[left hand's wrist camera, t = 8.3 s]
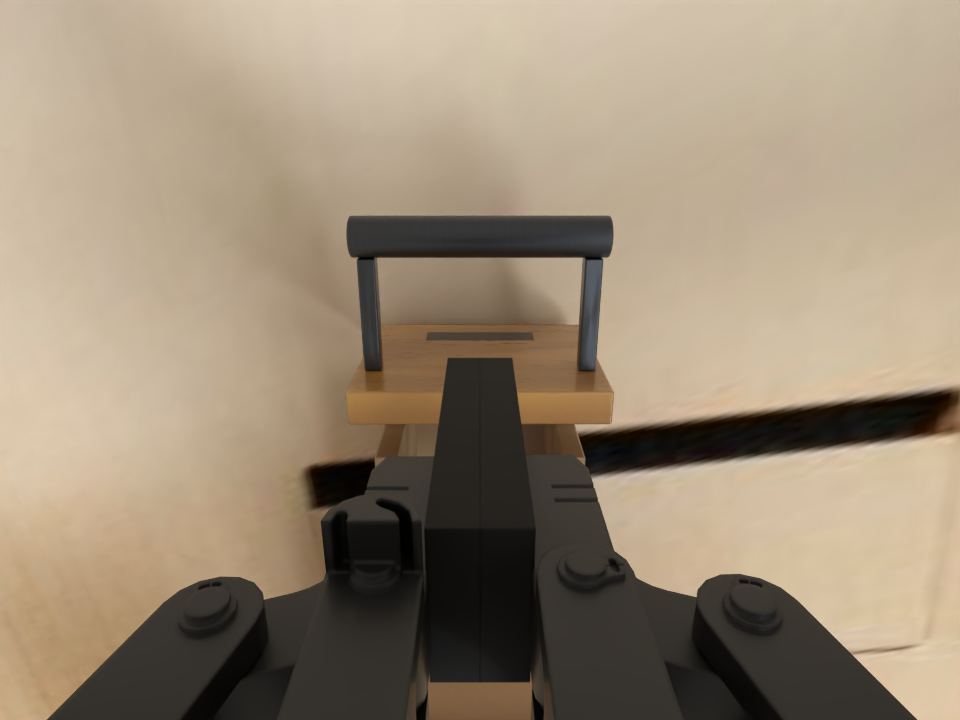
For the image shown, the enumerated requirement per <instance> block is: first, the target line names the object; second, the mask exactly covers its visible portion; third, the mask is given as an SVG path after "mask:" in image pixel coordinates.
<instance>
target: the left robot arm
mask: <svg viewBox="0 0 960 720" xmlns="http://www.w3.org/2000/svg"><path fill="white" fill-rule="evenodd" d="M321 528H322V537H323V547H324V556H325V565H326V575H325V578H324V581H322V582H320V583H318V584H316V585H314V586H312V587H310V588H308V589H305V590H302V591H298V592H295V593H292V594H287V595H283V596H279V597H274V598H270V599H266V600H264V598H263V593H262V591H261V590H260V589H259V588H258V587H257V585H256V584H255V583H254V582H251V581H248V580H246V579H243V578H240V577H217V578H213V579H208V580H203V581H199V582H197V583H195V584H193V585H191V586H188V587H186V588H184V589H182V590H180V591H179V592H177V593H176V594H175V595H173V596H172V597H171V598H169V599H168V600H167V601H165V602H164V603H163V604H162V605H161V606H160V607H159V608H158V609H157V610H156V611H155V612H154V613H153V614H152V615H151V616H150V617H149V618H148V619H147V620H146V621H145V622H144V623H143V624H142V625H141V626H140V627H139V628H138V629H137V630H136V631H135V632H134V633H133V634H132V635H131V636H130V637H129V638H128V639H127V640H126V641H125V642H124V643H123V644H122V645H121V646H120V647H119V648H118V649H117V650H116V651H115V652H114V653H113V654H112V655H111V656H110V657H109V658H108V659H107V660H106V661H105V662H104V663H103V664H102V665H101V666H100V667H99V668H98V669H97V670H96V671H95V672H94V673H93V674H92V675H91V676H90V677H89V678H88V679H87V680H86V681H85V682H84V683H83V684H82V685H81V686H80V687H79V688H78V689H77V690H76V691H75V692H74V693H73V694H72V695H71V696H70V697H69V698H68V699H67V700H66V701H65V702H64V703H63V704H62V705H61V706H60V707H59V708H58V709H57V710H56V711H55V712H54V713H53V714H52V715H51V716H50V717H49V718H48V719H47V720H429V701H428V683H429V673H430V682H530V673H531V680H532V701H531V720H917V719H916V718H915V717H914V716H913V715H912V714H911V713H910V712H909V711H908V710H907V709H906V708H905V707H904V706H903V705H902V704H901V703H900V702H899V701H898V700H897V699H896V698H895V697H894V696H893V695H892V694H891V693H890V692H889V691H888V690H887V689H886V688H885V687H884V686H883V685H882V684H881V683H880V682H879V681H878V680H877V679H876V678H875V677H874V676H873V675H872V674H871V673H870V672H869V671H868V670H867V669H866V668H865V667H864V666H863V665H862V664H861V663H860V662H859V661H858V660H857V659H856V658H855V657H854V656H853V655H852V654H851V653H850V652H849V651H848V650H847V649H846V648H845V647H844V646H843V645H842V644H841V643H840V642H839V641H838V640H837V639H836V638H835V637H834V636H833V635H832V634H831V633H830V632H829V631H828V630H827V629H826V628H825V627H824V626H823V625H822V624H821V623H820V622H818V621H817V620H816V619H815V618H814V617H813V616H812V615H811V614H810V613H809V612H808V611H807V610H806V609H805V608H804V607H803V606H802V605H801V604H800V603H799V602H798V601H797V600H796V599H795V598H794V597H792V596H791V595H790V594H788V593H787V592H786V591H784V590H783V589H782V588H780V587H778V586H776V585H774V584H771V583H769V582H767V581H765V580H763V579H760V578H756V577H751V576H746V575H742V574H724V575H718V576H716V577H713V578H710V579H708V580H706V581H705V582H704V583H703V584H702V586H701V587H700V588H699V589H698V592H697V597H693V596H688V595H684V594H680V593H675V592H671V591H667V590H664V589H660V588H657V587H654V586H651V585H649V584H647V583H645V582H643V581H641V580H639V579H637V578H636V577H635V574H634V571H633V570H632V568H631V567H630V565H629V564H628V562H627V560H626V559H624V558H623V557H622V556H620V555H619V554H618V553H616V552H615V551H614V549H613V546H612V543H611V540H610V536H609V533H608V530H607V527H606V524H605V520H604V517H603V514H602V511H601V508H600V504H599V502H598V498H597V495H596V492H595V488H593V482H592V479H591V476H590V472H589V469H588V468H587V467H586V466H585V465H584V464H583V463H582V462H581V461H579V460H578V459H577V458H576V457H575V456H574V455H573V454H525V446H524V439H523V432H522V425H521V417H520V410H519V403H518V395H517V388H516V381H515V374H514V366H513V359H512V358H448V359H447V366H446V374H445V381H444V388H443V395H442V403H441V410H440V417H439V424H438V432H437V439H436V446H435V454H434V456H387V457H386V458H385V459H384V460H383V461H382V462H381V463H380V464H378V465H377V466H376V467H375V468H374V469H373V470H372V472H371V475H370V478H369V481H368V485H367V490H366V491H365V494H364V495H360V496H357V497H354V498H351V499H348V500H345V501H342V502H341V503H339V504H338V505H336V506H335V507H333V508H332V509H330V510H329V511H328V512H327V514H326V515H325V516H324V518H323V519H322V520H321Z"/></svg>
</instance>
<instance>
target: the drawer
mask: <svg viewBox="0 0 960 720" xmlns="http://www.w3.org/2000/svg"><path fill="white" fill-rule="evenodd" d="M612 245H613V223H612V219H611V217H610V216H350V217H349V218H348V222H347V246H348V251H349V254H350V256H351V257H353V258H358V259H357V271H358V285H359V299H360V313H361V328H362V342H363V356H364V358H363V360H362V362H361V364H360V366H359V368H358V370H357V372H356V374H355V376H354V378H353V380H352V382H351V384H350V386H349V388H348V390H347V392H346V401H347V413H348V422H349V424H385V427H384V430H383V433H382V437H381V440H380V443H379V446H378V449H377V453H376V456H375V467H376V466H377V465H378V464H380V463H381V462H382V461H383V460H384V459H385V458H386V457H387V456H434V454H435V446H436V439H437V432H438V424H439V417H440V410H441V403H442V395H443V388H444V381H445V374H446V366H447V359H448V358H512V359H513V366H514V374H515V381H516V388H517V395H518V403H519V410H520V417H521V425H522V432H523V439H524V446H525V454H573V455H574V456H575V457H576V458H577V459H578V460H579V461H581V462H582V463H583V464H584V465H585V456H584V453H583V450H582V446H581V443H580V440H579V437H578V434H577V430H576V427H575V424H611V422H612V412H613V400H614V392H613V390H612V388H611V386H610V384H609V382H608V380H607V378H606V376H605V374H604V372H603V370H602V368H601V366H600V364H599V362H598V360H597V358H596V356H597V341H598V327H599V313H600V298H601V284H602V270H603V259H602V258H607V257H609V256H610V254H611V250H612ZM377 258H583V264H582V282H581V299H580V316H579V325H381V319H380V302H379V285H378V268H377Z"/></svg>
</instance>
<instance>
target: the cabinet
mask: <svg viewBox="0 0 960 720" xmlns="http://www.w3.org/2000/svg"><path fill="white" fill-rule="evenodd" d="M428 701H429V720H531V701H532V680H531V673H530V682H430V673H429V683H428Z"/></svg>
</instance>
